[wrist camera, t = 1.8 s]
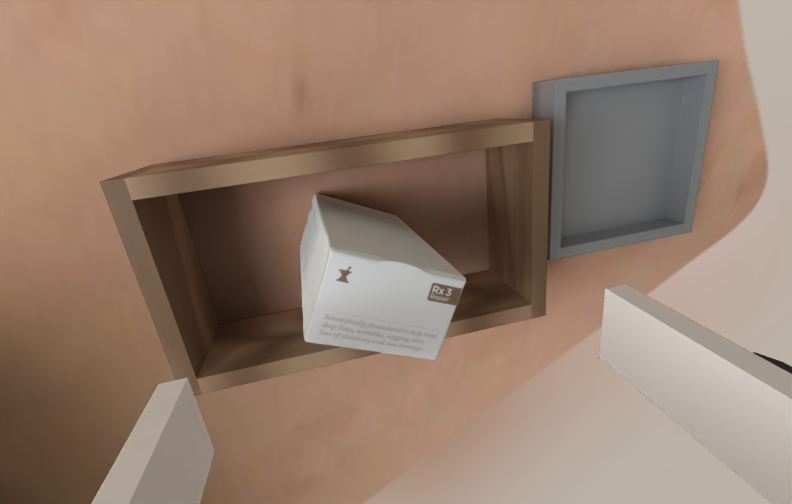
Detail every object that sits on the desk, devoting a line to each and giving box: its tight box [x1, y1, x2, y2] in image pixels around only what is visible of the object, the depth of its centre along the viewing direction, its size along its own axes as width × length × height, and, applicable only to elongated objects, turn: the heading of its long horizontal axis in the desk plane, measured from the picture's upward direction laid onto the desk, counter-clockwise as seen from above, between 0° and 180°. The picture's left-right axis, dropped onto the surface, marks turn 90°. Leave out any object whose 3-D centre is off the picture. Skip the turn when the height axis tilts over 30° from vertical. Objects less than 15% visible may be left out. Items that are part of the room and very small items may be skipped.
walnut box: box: [100, 119, 550, 395], centre depth 24 cm, size 22×12×6 cm, turn 97°
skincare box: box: [300, 193, 466, 360], centre depth 21 cm, size 6×4×12 cm
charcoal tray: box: [533, 60, 719, 261], centre depth 28 cm, size 12×12×2 cm
